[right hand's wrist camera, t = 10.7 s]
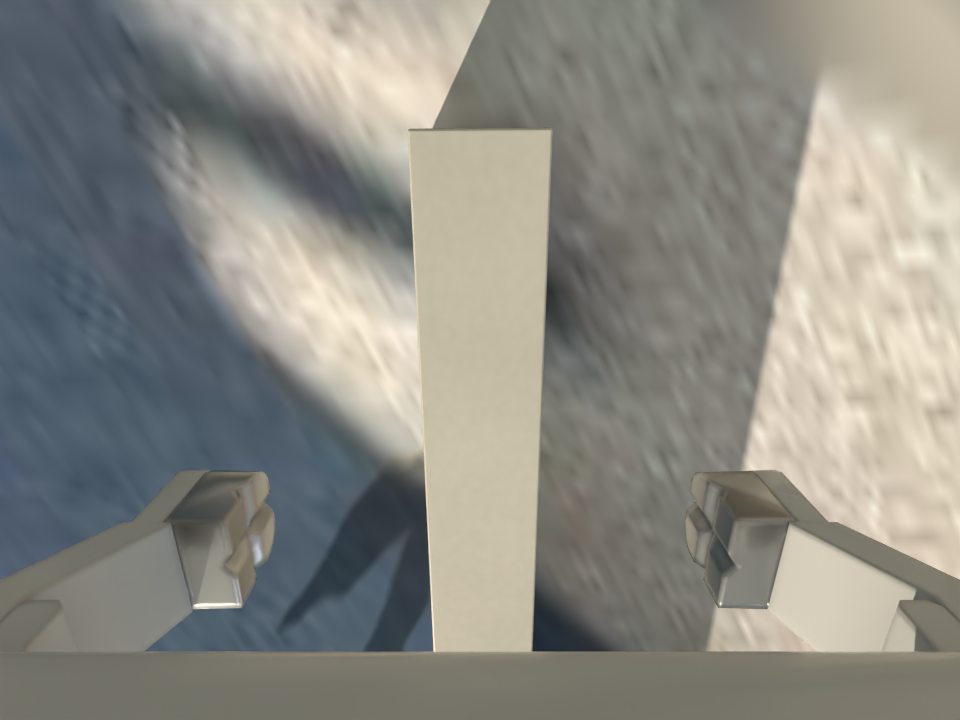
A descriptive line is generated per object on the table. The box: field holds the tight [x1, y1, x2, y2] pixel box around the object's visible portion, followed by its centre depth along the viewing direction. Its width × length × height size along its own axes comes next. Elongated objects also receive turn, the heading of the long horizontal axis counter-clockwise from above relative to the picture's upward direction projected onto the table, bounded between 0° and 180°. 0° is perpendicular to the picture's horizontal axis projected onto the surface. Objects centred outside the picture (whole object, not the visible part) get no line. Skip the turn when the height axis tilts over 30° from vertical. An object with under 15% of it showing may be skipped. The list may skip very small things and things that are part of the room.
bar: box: [408, 128, 553, 652], centre depth 35 cm, size 64×5×8 cm, turn 0°
